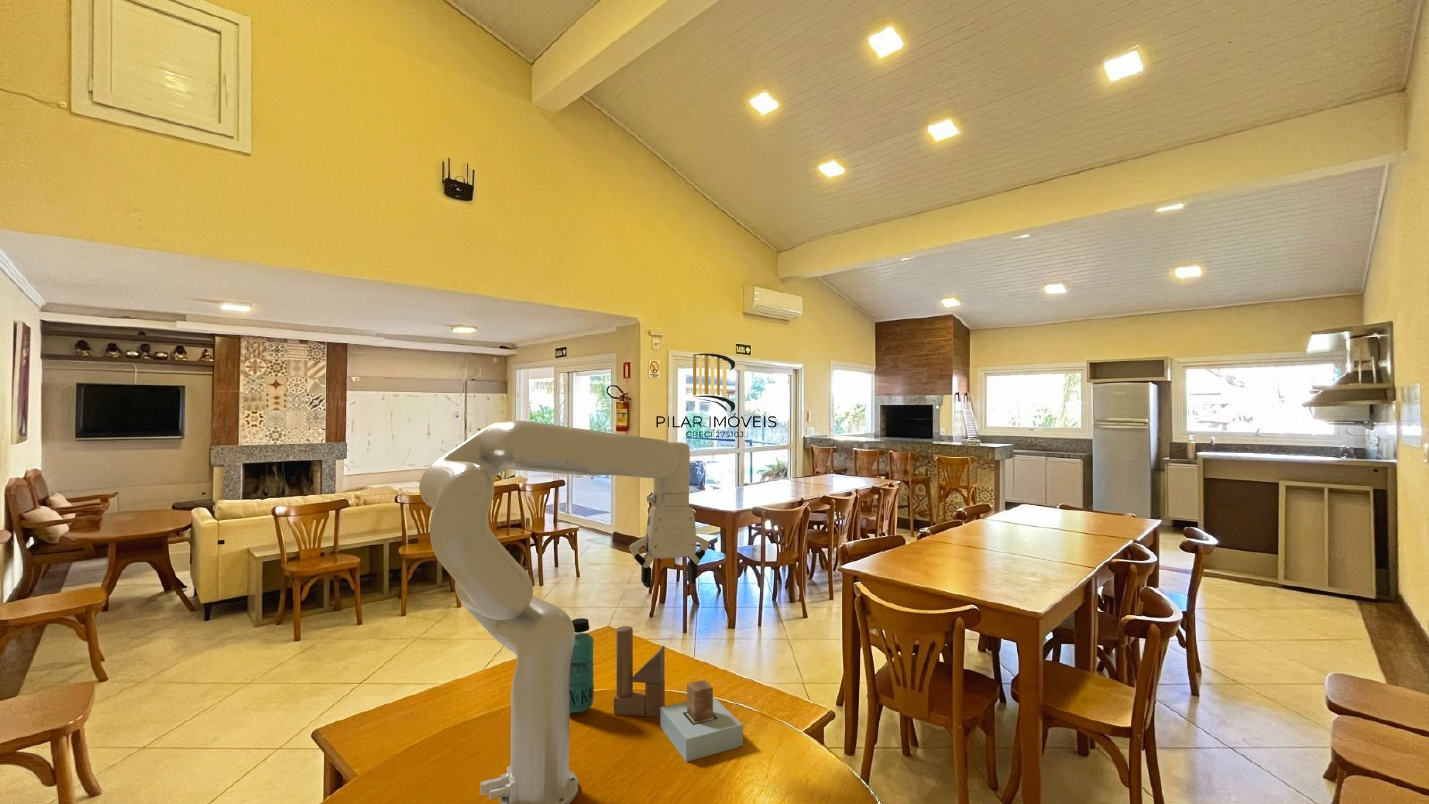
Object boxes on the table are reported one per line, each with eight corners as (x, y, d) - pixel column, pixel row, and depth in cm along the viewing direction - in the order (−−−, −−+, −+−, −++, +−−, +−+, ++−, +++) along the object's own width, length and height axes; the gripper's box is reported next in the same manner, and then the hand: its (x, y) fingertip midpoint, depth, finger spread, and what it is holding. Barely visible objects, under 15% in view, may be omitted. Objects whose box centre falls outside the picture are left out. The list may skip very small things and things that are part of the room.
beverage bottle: (560, 710, 124) (560, 618, 125) (589, 703, 127) (590, 613, 129) (567, 723, 118) (567, 626, 120) (597, 715, 121) (598, 621, 123)
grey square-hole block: (686, 761, 104) (686, 739, 104) (660, 727, 116) (660, 707, 116) (742, 745, 109) (742, 724, 109) (712, 714, 121) (712, 695, 122)
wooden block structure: (661, 718, 120) (660, 632, 121) (613, 715, 122) (613, 630, 123) (665, 710, 123) (664, 627, 125) (618, 707, 125) (618, 625, 126)
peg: (694, 744, 110) (694, 691, 110) (686, 734, 113) (686, 683, 114) (713, 739, 111) (713, 687, 112) (705, 729, 115) (705, 679, 116)
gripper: (636, 503, 110) (633, 592, 108) (716, 501, 117) (714, 585, 116) (626, 500, 117) (623, 584, 115) (702, 498, 124) (700, 577, 122)
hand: (669, 584), depth 115 cm, fingers open, 9 cm apart
